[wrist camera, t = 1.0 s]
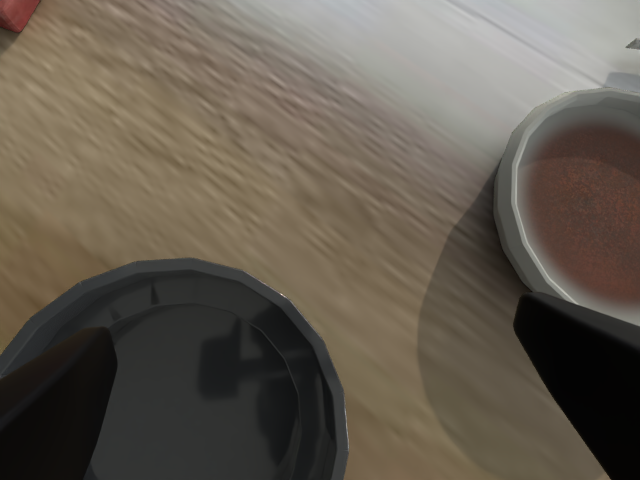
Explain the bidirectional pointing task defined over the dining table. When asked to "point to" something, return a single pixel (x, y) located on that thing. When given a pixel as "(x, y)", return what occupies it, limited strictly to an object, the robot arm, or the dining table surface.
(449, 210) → the dining table surface
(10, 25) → the popsicle
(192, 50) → the dining table surface
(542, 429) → the dining table surface
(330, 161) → the dining table surface
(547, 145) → the frying pan
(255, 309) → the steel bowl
